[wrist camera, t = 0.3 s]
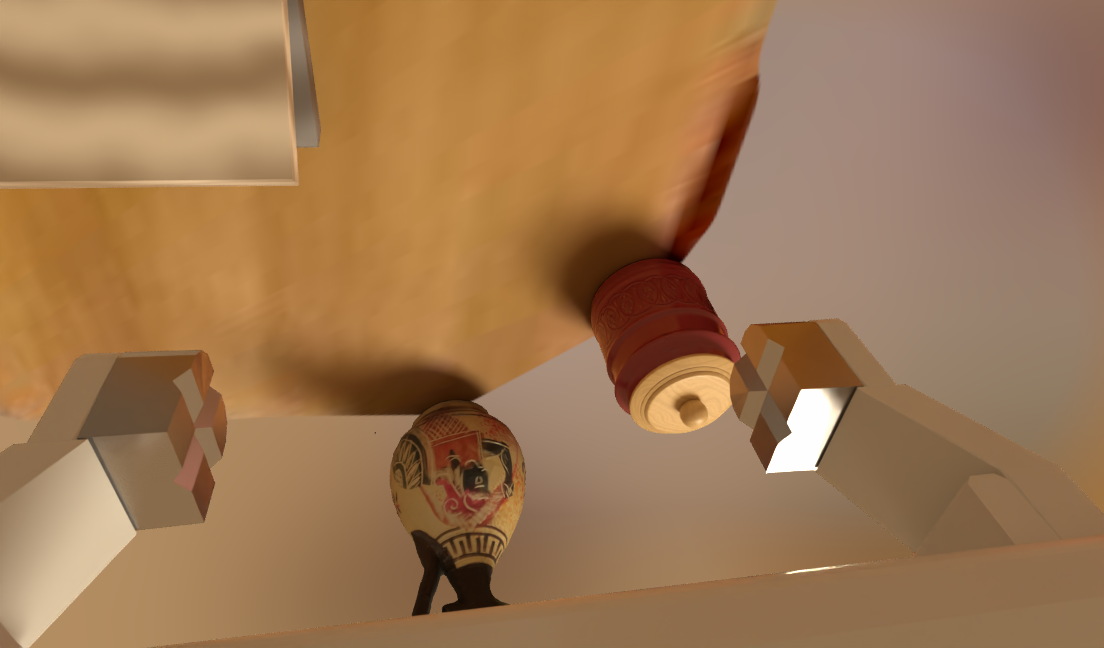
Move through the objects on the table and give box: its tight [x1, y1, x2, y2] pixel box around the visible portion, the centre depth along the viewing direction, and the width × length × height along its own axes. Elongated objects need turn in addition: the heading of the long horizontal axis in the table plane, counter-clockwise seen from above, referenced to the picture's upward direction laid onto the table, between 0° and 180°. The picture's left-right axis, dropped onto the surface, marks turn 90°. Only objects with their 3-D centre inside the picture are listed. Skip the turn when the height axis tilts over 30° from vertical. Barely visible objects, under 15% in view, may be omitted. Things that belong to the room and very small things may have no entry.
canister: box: [591, 258, 741, 433], centre depth 69 cm, size 13×13×18 cm
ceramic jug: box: [375, 400, 526, 616], centre depth 72 cm, size 17×15×30 cm
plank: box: [0, 0, 299, 189], centre depth 41 cm, size 13×19×2 cm
